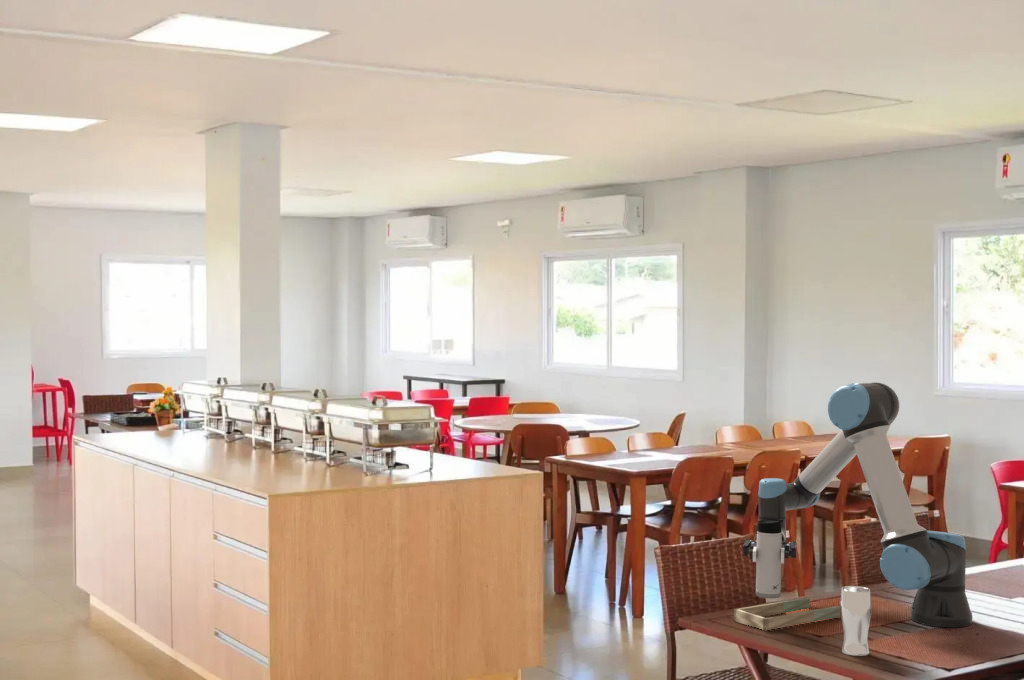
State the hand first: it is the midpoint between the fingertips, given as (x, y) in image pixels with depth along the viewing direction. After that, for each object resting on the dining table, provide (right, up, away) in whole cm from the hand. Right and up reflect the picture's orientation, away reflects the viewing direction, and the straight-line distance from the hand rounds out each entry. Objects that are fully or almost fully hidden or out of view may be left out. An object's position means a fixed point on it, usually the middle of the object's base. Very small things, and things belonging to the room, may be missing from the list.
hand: (768, 557), depth 295 cm
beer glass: (+16, -18, -22) cm, 33 cm away
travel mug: (+1, -11, +5) cm, 12 cm away
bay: (+7, -18, +9) cm, 21 cm away
